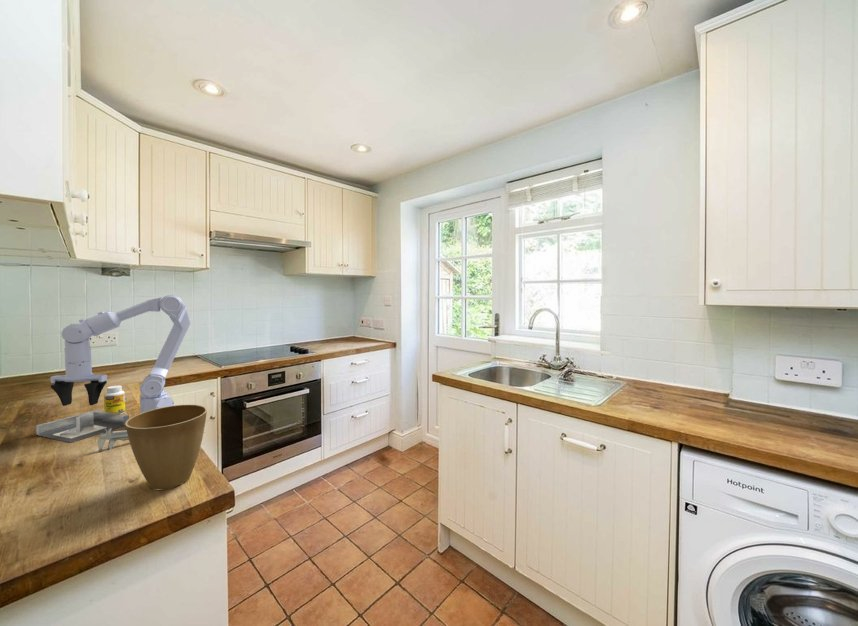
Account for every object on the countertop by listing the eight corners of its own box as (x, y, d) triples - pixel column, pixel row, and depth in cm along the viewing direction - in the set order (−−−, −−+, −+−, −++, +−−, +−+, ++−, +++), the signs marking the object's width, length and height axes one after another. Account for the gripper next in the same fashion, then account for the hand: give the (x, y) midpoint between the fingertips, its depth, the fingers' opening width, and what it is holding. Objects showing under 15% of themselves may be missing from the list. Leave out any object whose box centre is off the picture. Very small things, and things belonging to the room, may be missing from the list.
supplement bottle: (102, 418, 119) (101, 389, 119) (106, 413, 124) (105, 386, 123) (124, 415, 122) (122, 387, 122) (127, 410, 127) (125, 384, 126)
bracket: (94, 428, 109) (93, 411, 109) (80, 434, 104) (79, 417, 104) (74, 429, 108) (73, 412, 108) (60, 435, 104) (59, 418, 103)
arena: (129, 424, 114) (128, 415, 114) (70, 442, 99) (70, 432, 99) (96, 418, 119) (96, 409, 118) (36, 435, 104) (35, 425, 104)
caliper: (99, 453, 93) (98, 431, 93) (98, 452, 94) (97, 430, 94) (186, 430, 110) (185, 411, 109) (184, 429, 110) (184, 410, 110)
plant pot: (121, 484, 78) (119, 416, 77) (197, 460, 89) (195, 400, 88) (136, 510, 68) (133, 433, 68) (218, 479, 80) (216, 413, 79)
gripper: (114, 359, 110) (115, 400, 111) (65, 359, 109) (67, 401, 109) (95, 363, 103) (97, 407, 104) (42, 363, 102) (44, 408, 102)
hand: (80, 404), depth 106 cm, fingers open, 7 cm apart
